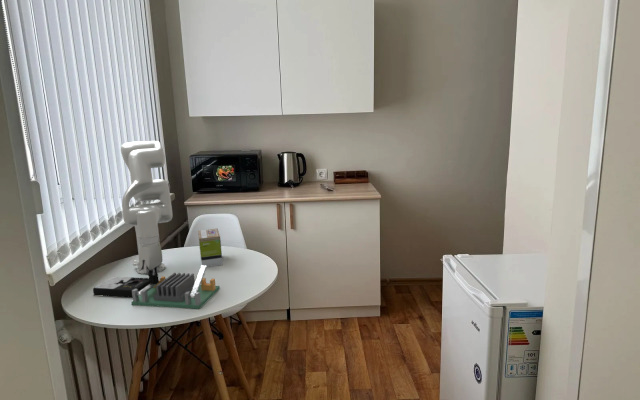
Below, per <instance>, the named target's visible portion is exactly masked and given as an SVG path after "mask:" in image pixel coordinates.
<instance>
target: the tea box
mask: <svg viewBox="0 0 640 400" xmlns="http://www.w3.org/2000/svg"><path fill="white" fill-rule="evenodd" d="M197 232H198V233H197V234H198V245H199V253H200V254H199V255H200V261H201V265H206V266H207V268H208V267H216V266H222V265H223V253H222V252H223V251H222V242H221V241H222V240H221V234H220V233H219V229H218V228H210V229H209V228H208V229H202V230H198V231H197Z"/></svg>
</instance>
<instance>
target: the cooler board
mask: <svg viewBox="0 0 640 400" xmlns="http://www.w3.org/2000/svg"><path fill="white" fill-rule="evenodd" d="M159 279H160V281H161V282H160V283H159V284H157V285H156V286H155V287H153V288H152V289H150V290H149V291H148V292H147V289H144V290H142V291H141V294H142V296H138V295H136V293H137V292H138V289H134V290H132V297H133V298H132V301H131V305H132V306H143V307H144V306H146V307H161V308H176V309H177V308H178V309H179V308H180V309H196V310H197V309H198V310H200V309H201V308H202V307H203V306H205V305H204V304H206V303H207V302H208V301H209V300H210V299H211V298H212V297H213V296H214V295H215V294H216V293H217V292H218V291H219V290H220V289H221V288H220V285H216V278H211V279H209V283H208V282H207V280H206V279H207V278H205V277H203V279H202V282H201V284H200V287H199V290H198V292H196V293H195V299H192V298H189V296H190V294H191V291H192V289H193V286H194V284H195V281H196V279H195V273H186V272H183V273H181V272H178V273H177V272H173V273H172V274H171V275H169V276H168V277H166V276H164V275H163V276H161V277H160V278H159Z"/></svg>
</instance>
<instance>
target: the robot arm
mask: <svg viewBox="0 0 640 400" xmlns="http://www.w3.org/2000/svg"><path fill="white" fill-rule="evenodd" d="M120 152H121V157H122V159H123V161H124V163H125V165H126V167H127V169H128V171H129V174H130V175H129V176H130V185H129V187H128V188H127V189H126V191H125V192H124V193H123V196H122V199H121V208H122V217H123V222H124V224H125V225H127V226H132V227H133V226H134V229H135V235H136V244H137V252H138V259H134V260H133V262H132V265H133V266H137V268H136V272H137V273H138V274H141V275H148V278H149V283H150V284H157V283H159V279H160V278H159V272H162V271H163V270H165V269H166V264H165V263H163V251H162V247H161V242H160V233H159V225H158V224H162V223H168V222H170V221H172V219H173V207H172V199H171V192H170V187H169V184H168V182H167V180H166V179H163V178H160V179H159V178H158V179H157V178H156V179H153V173H152V169H155V168H158V169H159V168H163V167H164V166H165V163H166V158H165V157H166V156H165V152H164V147H163V146H162V143H161V142H160V141H158V140H148V141H130V142H125V143H122V145H121V147H120ZM132 198H134V200H135V201H136V202H147V201H159V202H152V203H151V202H150V203H141V204H140V203H139V204H137V205H135V206H133V207H132V206H130V201H131V200H132Z"/></svg>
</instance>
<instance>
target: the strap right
mask: <svg viewBox="0 0 640 400" xmlns="http://www.w3.org/2000/svg"><path fill="white" fill-rule="evenodd" d="M207 268H208V267H207V266H206V265H202V264H201V265H200V268H199V271H198V274H197V276H196V279H195V284H194V286H193V289H192V291H191V294H190V296H189V298H192V299H195V293H196V292H198V290H199V287H200V285H201V282H202V279H203V278H204V276H205V275H206V271H207Z"/></svg>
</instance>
